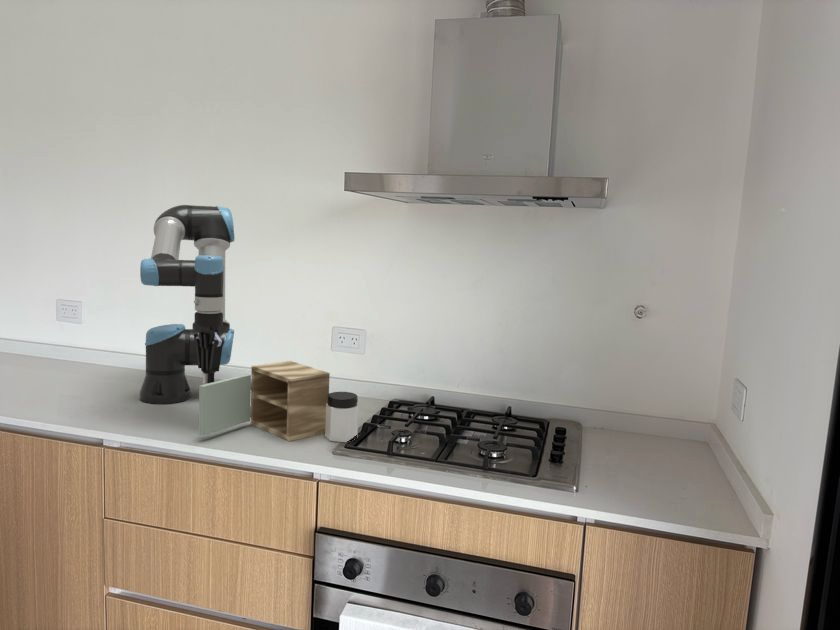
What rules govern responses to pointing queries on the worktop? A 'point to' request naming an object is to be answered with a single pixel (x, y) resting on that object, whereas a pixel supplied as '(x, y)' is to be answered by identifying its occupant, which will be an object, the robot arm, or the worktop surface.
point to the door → (224, 404)
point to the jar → (341, 416)
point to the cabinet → (289, 399)
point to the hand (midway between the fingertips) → (208, 394)
